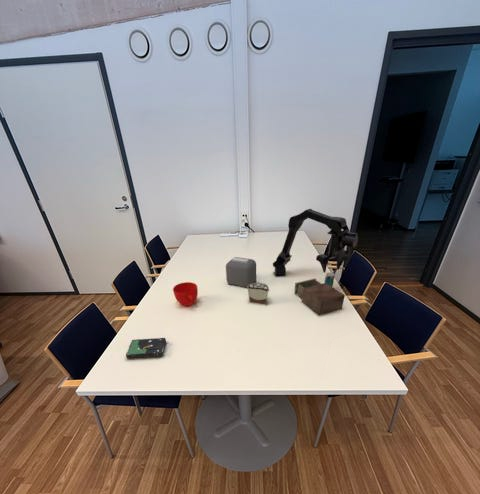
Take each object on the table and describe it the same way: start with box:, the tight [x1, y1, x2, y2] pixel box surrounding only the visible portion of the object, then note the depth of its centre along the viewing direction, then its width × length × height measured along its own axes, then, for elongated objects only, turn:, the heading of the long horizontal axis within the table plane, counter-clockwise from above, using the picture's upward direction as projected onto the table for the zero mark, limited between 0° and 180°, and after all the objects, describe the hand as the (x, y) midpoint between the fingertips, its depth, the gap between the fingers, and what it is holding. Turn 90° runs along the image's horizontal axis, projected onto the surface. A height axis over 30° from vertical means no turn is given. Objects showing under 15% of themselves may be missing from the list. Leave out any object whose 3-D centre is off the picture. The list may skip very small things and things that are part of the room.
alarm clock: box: [225, 256, 257, 288], centre depth 162 cm, size 16×11×16 cm
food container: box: [246, 282, 270, 306], centre depth 145 cm, size 12×6×10 cm, turn 71°
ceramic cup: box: [172, 281, 199, 307], centre depth 143 cm, size 13×17×10 cm
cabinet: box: [301, 282, 346, 317], centre depth 139 cm, size 15×14×8 cm
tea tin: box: [324, 272, 336, 288], centre depth 152 cm, size 5×5×10 cm
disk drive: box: [125, 337, 167, 360], centre depth 114 cm, size 10×3×15 cm
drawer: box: [293, 278, 322, 299], centre depth 147 cm, size 18×13×7 cm
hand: (331, 270), depth 148 cm, fingers open, 9 cm apart
